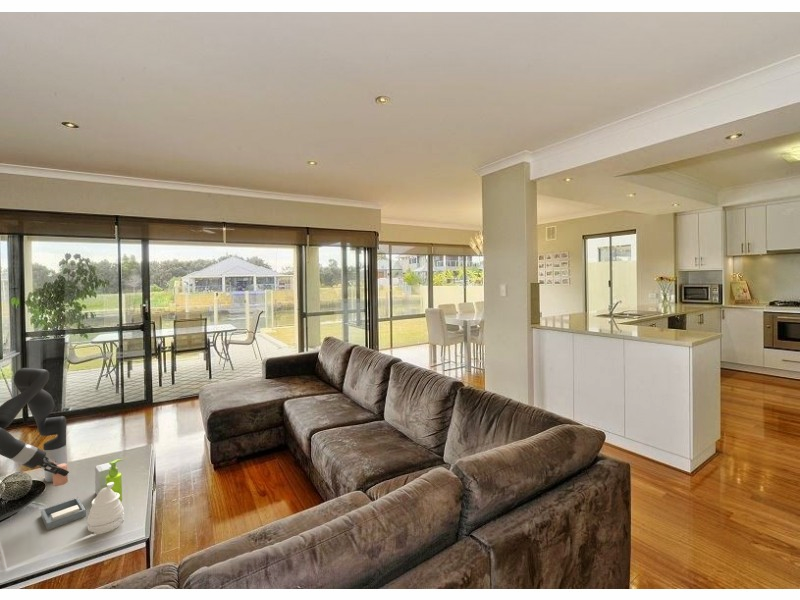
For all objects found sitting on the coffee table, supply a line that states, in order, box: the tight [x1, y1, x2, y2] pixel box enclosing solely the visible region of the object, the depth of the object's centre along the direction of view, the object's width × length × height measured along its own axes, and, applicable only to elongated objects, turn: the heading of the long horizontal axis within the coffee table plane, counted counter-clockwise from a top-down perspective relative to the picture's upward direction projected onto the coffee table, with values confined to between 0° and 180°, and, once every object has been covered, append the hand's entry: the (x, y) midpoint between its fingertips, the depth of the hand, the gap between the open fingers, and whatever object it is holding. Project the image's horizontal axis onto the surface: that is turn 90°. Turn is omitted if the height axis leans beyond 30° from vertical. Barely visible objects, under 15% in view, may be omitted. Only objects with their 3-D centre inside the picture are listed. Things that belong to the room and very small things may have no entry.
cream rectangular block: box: [51, 505, 79, 521], centre depth 171 cm, size 4×9×4 cm, turn 141°
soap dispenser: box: [106, 458, 124, 502], centre depth 187 cm, size 6×7×20 cm
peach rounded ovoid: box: [52, 463, 69, 487], centre depth 175 cm, size 5×5×8 cm
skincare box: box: [94, 462, 111, 496], centre depth 192 cm, size 8×6×15 cm
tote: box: [40, 496, 87, 531], centre depth 174 cm, size 15×13×4 cm
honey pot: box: [86, 482, 125, 535], centre depth 169 cm, size 13×13×18 cm
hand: (65, 471), depth 176 cm, fingers closed on peach rounded ovoid, 5 cm apart
